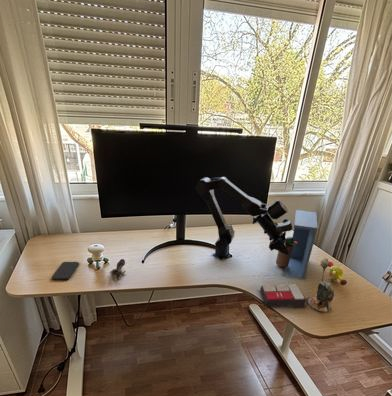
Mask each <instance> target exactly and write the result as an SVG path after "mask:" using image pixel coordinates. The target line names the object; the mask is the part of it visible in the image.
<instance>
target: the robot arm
mask: <svg viewBox="0 0 392 396" xmlns="http://www.w3.org/2000/svg"><path fill="white" fill-rule="evenodd" d="M195 189H196V191H197V192H198V194H199V195H200V197H201V198H202V199H203V200H204V201H205V203H206V205H207V207H208V209H209V212H210V214H211V216H212V218H213V220H214V222H215V223H214V224H215V225H216V227H217V233H218V238H217V239H216V241H215V242H214V246H215V248H214V249H215V250H214V253H212V256H213V257H215V258H217V259H219V260H221V261H222V260H224V259H227V258H231V255H230V244H232V242H233V240H234V238H235V232H236V231H235V230H234V228H233V225H232V224H230V225H229V224H227V222H226V219H225V217H224V214H223V212H222V210H221V208H220V206H219V204H218V201H217V198H216V195H215V190H216V189H222V190H223V191H224V192H225V193H227V194H228V195H229V196H230V197H232V198H233V199H234V200H236V202H238V203H239V204H241V205H242V207H243V209H244V210H245V211H246V213H248V215H249V216H251V217H252V225H255V224H256V223H258V225H259V226H260V228H261V229H262V230H263V233H264V235H267V236H268V240H269V241H270V242H269V245H268V248H269V250H270V251H274V250H275V251H277V252H278V251H279V252H282V253H284V254H286V255H288V254H289V253H288V251H287V249H286V247H285V245H284V242H285V240H286V238H287V237H286V235H287V232H292V230H293V225H292V221H291V219H290V220H289V219H288V218H287V217H285V218H283V219H282V221H281V222H279V223H278V222H277V221H274V220H278V219H280V218H281V217H283V216H284V215H286V214H287V213H288V212H289V210H288V208H287V206H286V205H285V204H284V203H283V202H282V201H281V200H280V199H276V200H275V201H274V202H273V203H272V204H271V205H269V204H266V203H264V202H262V201H261V200H259V199H257V198H255V197H252V196H249V194H247V193H245V192H244V191H242V190H241V189H240V188H239V187H237V186H236V185H235V184H234V183H232V182H231V181H230V180H229V179H228V178H227V177H226V176H221V177H212V178H209V177H208V176H207V177H206V176H205V177H202V178H201V179H199V180H198V181H197V182H196V185H195Z"/></svg>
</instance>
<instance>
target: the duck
mask: <svg viewBox="0 0 392 396" xmlns="http://www.w3.org/2000/svg"><path fill="white" fill-rule="evenodd" d="M292 237H293V236H288V237H285V238H286V240H285V242H284V245H285V247H286V249H287V251H288V253H289V254H288V255H286V254H284V253H282V252H279V251H277V255H276V259H275V264H276V265H277V266H280V267H285V266H288V265H289V261H290V257H291V253H292V249H293V244H297V242H296V241H294V239H293V238H292Z"/></svg>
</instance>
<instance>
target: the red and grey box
mask: <svg viewBox="0 0 392 396" xmlns="http://www.w3.org/2000/svg"><path fill="white" fill-rule="evenodd" d="M259 292H260V295H261V297H262V301H263V303H264V306H265V307H266V308H281V307H283V308H284V307H293V308H305V305H306V302H307V301H306V300H307V298H306V297H305V296H304V294H303V292H302V290H301V288H300V287H299V285H298V284H295V283H292V284H286V283H283V284H281V283H279V284H262V285H260V290H259Z"/></svg>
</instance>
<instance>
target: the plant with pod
mask: <svg viewBox="0 0 392 396" xmlns="http://www.w3.org/2000/svg"><path fill="white" fill-rule="evenodd" d="M329 262H330V261H329V259H328V258H327V257H325V258H323V259H322V260H320V264H319V266H320V267H321V268H322V277H321V281H319V283H318V286H317V290H316V296H314V297H307V298H306V300H307V303H308V305H309V306H310V307H311V308H313V309H315V310H316V311H318V312H320V313H321V312H322V313H324V312H328V313H330V312H331V310H332V308H331V307H330V305H329V303H330V302H333V300H334V297H335V290H334V287H333V286H332V284H331V283H330V282H328V281H325V280H324V275H325V270H326V269H327V268H328V265H329Z"/></svg>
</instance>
